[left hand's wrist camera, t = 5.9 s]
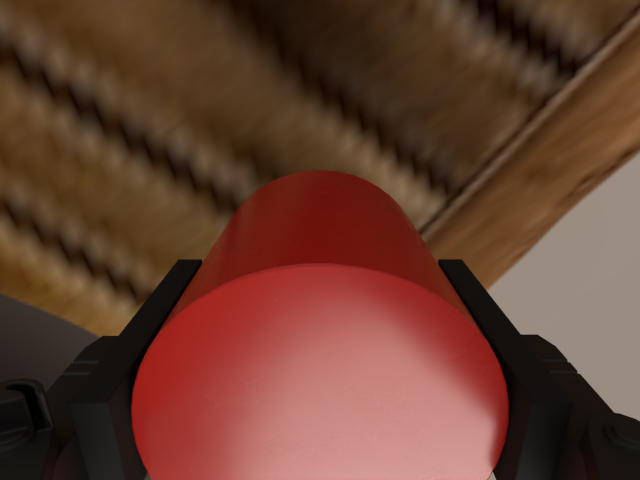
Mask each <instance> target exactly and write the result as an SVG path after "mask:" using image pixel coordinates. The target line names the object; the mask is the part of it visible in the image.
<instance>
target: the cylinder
mask: <svg viewBox="0 0 640 480" xmlns="http://www.w3.org/2000/svg"><path fill="white" fill-rule="evenodd" d="M131 419H132V430H133V435H134V439H135V443H136V447H137V450H138V452H139V455H140V457H141V460H142V462H143V465H144V466H145V468H146V470H147V472H148V473H149V475H150V477H151V478H152V480H488V479H489V477H490V476H491V474H492V472H493V470H494V468H495V466H496V464H497V463H498V461H499V458H500V455H501V453H502V450H503V447H504V444H505V441H506V435H507V430H508V424H509V399H508V392H507V386H506V381H505V378H504V375H503V372H502V369H501V366H500V363H499V361H498V359H497V357H496V356H495V354H494V352H493V350H492V348H491V346H490V344H489V343H488V341H487V340H486V338H485V336H484V335H483V333H482V332H481V330H480V329H479V327H478V326H477V324H476V322H475V321H474V319H473V318H472V316H471V315H470V313H469V312H468V310H467V308H466V307H465V305H464V304H463V302H462V301H461V299H460V298H459V296H458V294H457V293H456V291H455V290H454V288H453V287H452V285H451V283H450V282H449V280H448V279H447V277H446V276H445V274H444V273H443V271H442V269H441V268H440V266H439V265H438V263H437V262H436V260H435V259H434V257H433V255H432V254H431V252H430V251H429V249H428V248H427V246H426V244H425V243H424V241H423V240H422V238H421V237H420V235H419V234H418V232H417V230H416V229H415V227H414V226H413V224H412V223H411V221H410V220H409V218H408V216H407V215H406V214H405V212H404V211H403V210H402V208H401V207H400V206H399V205H398V204H397V203H396V202H395V201H394V200H393V199H392V198H391V197H390V196H389V195H388V194H387V193H385V192H384V191H383V190H381V189H380V188H379V187H377V186H375V185H373V184H372V183H370V182H368V181H366V180H364V179H361V178H359V177H356V176H354V175H350V174H346V173H342V172H335V171H326V170H319V171H305V172H298V173H294V174H291V175H287V176H284V177H281V178H279V179H277V180H274V181H272V182H270V183H268V184H267V185H265V186H263V187H262V188H260V189H258V190H257V191H256V192H255V193H253V194H252V195H251V196H250V197H248V198H247V200H246V201H245V202H244V203H243V204H242V205H241V206H240V207H239V208H238V210H237V211H236V213H235V214H234V215H233V217H232V218H231V220H230V221H229V223H228V224H227V226H226V228H225V229H224V231H223V232H222V234H221V235H220V237H219V239H218V240H217V242H216V243H215V245H214V246H213V248H212V249H211V251H210V253H209V254H208V256H207V257H206V259H205V260H204V262H203V264H202V265H201V267H200V268H199V270H198V271H197V273H196V274H195V276H194V278H193V279H192V281H191V282H190V284H189V285H188V287H187V288H186V290H185V292H184V293H183V295H182V296H181V298H180V299H179V301H178V303H177V304H176V306H175V307H174V309H173V310H172V312H171V313H170V315H169V317H168V318H167V320H166V321H165V323H164V324H163V326H162V328H161V329H160V331H159V332H158V334H157V335H156V337H155V338H154V340H153V342H152V343H151V345H150V346H149V348H148V350H147V352H146V354H145V356H144V358H143V360H142V362H141V364H140V366H139V369H138V372H137V376H136V379H135V382H134V386H133V393H132V401H131Z"/></svg>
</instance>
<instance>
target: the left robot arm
mask: <svg viewBox="0 0 640 480" xmlns="http://www.w3.org/2000/svg"><path fill="white" fill-rule="evenodd" d="M201 265H202V260H178V261H177V262H176V264H175V265H174V266H173V267H172V269H171V270H170V271H169V272H168V274H167V275H166V276H165V278H164V279H163V280H162V281H161V283H160V284H159V285H158V286H157V288H156V289H155V290H154V292H153V293H152V294H151V295H150V297H149V298H148V299H147V300H146V302H145V303H144V304H143V306H142V307H141V308H140V309H139V311H138V312H137V313H136V314H135V316H134V317H133V318H132V320H131V321H130V322H129V323H128V325H127V326H126V327H125V328H124V330H123V331H122V332H121V333H120V335H119V336H102V337H101V338H99V339H98V340H96V341H95V342H93V343H92V344H90V345H89V346H87V347H85V348H84V350H83V351H82V352H81V353H80V354H79V355H78V356H77V358H76V359H75V360H74V361H73V364H70V366H69V367H68V368H67V369H66V370H65V371H64V373H63V375H61V376H60V377H59V378H58V379H57V380H56V382H55V383H54V384H53V385H52V386H51V387H50V388H49V389H48V391H47V392H46V393H45V391H44V388H43V385H42V384H41V383H39V382H38V381H37V380H33V379H26V378H22V379H14V380H8V381H5V382H2V383H0V480H144V478H145V476H146V474H147V470H146V468H145V466H144V465H143V462H142V460H141V457H140V455H139V452H138V450H137V447H136V443H135V439H134V435H133V430H132V419H131V401H132V393H133V386H134V382H135V379H136V376H137V372H138V369H139V366H140V364H141V362H142V360H143V358H144V356H145V354H146V352H147V350H148V348H149V346H150V345H151V343H152V342H153V340H154V338H155V337H156V335H157V334H158V332H159V331H160V329H161V328H162V326H163V324H164V323H165V321H166V320H167V318H168V317H169V315H170V313H171V312H172V310H173V309H174V307H175V306H176V304H177V303H178V301H179V299H180V298H181V296H182V295H183V293H184V292H185V290H186V288H187V287H188V285H189V284H190V282H191V281H192V279H193V278H194V276H195V274H196V273H197V271H198V270H199V268H200V267H201ZM438 265H439V266H440V268H441V269H442V271H443V273H444V274H445V276H446V277H447V279H448V280H449V282H450V283H451V285H452V287H453V288H454V290H455V291H456V293H457V294H458V296H459V298H460V299H461V301H462V302H463V304H464V305H465V307H466V308H467V310H468V312H469V313H470V315H471V316H472V318H473V319H474V321H475V322H476V324H477V326H478V327H479V329H480V330H481V332H482V333H483V335H484V336H485V338H486V340H487V341H488V343H489V344H490V346H491V348H492V350H493V352H494V354H495V356H496V357H497V359H498V361H499V363H500V366H501V369H502V372H503V375H504V378H505V381H506V386H507V392H508V399H509V424H508V430H507V435H506V441H505V444H504V447H503V450H502V453H501V455H500V458H499V461H498V463H497V464H496V466H495V468H494V470H493V473H494V475H495V478H496V480H640V421H638V420H636V419H634V418H631V417H628V416H625V415H622V414H618V413H614V412H613V411H612V410H611V409H610V407H609V406H608V405H607V404H606V403H605V402H604V401H603V400H602V398H601V397H600V396H599V395H598V394H597V393H596V392H595V390H594V389H593V388H592V387H591V386H590V385H589V384H588V383H587V381H586V380H585V379H584V378H583V377H582V376H581V375H580V374H578V373H577V370H576V369H575V368H574V367H573V366H572V364H571V363H570V362H567V359H566V358H565V356H564V355H563V354H562V353H561V352H560V351H559V350H558V349H557V347H556V346H554V345H553V344H551V343H550V342H548V341H546V340H545V339H543V338H542V337H540V336H539V335H521V334H520V333H519V332H518V331H517V329H516V328H515V327H514V325H513V324H512V323H511V322H510V320H509V319H508V318H507V317H506V315H505V314H504V313H503V312H502V310H501V309H500V308H499V306H498V305H497V304H496V303H495V301H494V300H493V299H492V298H491V296H490V295H489V294H488V292H487V291H486V290H485V289H484V287H483V286H482V285H481V284H480V282H479V281H478V280H477V278H476V277H475V276H474V275H473V273H472V272H471V271H470V270H469V268H468V267H467V266H466V264H465V263H464V262H463V261H462V260H438Z"/></svg>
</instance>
